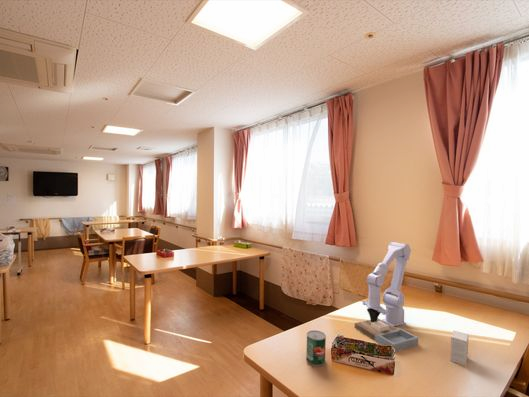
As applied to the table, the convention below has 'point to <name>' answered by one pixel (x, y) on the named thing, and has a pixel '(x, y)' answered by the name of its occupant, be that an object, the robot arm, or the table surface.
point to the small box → (459, 347)
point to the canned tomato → (316, 348)
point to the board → (368, 330)
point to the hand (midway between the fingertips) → (373, 323)
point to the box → (397, 339)
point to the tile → (379, 326)
